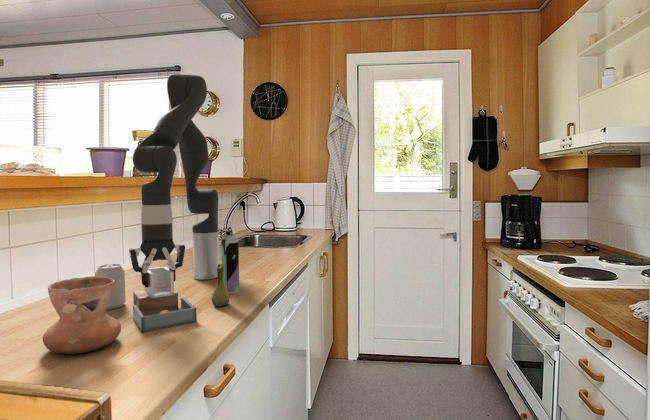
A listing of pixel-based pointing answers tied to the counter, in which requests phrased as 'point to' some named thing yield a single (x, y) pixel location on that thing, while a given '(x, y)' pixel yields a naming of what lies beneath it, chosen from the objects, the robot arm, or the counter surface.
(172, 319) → the tray
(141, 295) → the stand
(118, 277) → the can
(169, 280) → the chute
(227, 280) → the spray can
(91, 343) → the ceramic jug
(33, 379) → the counter surface
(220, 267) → the fennel bulb
